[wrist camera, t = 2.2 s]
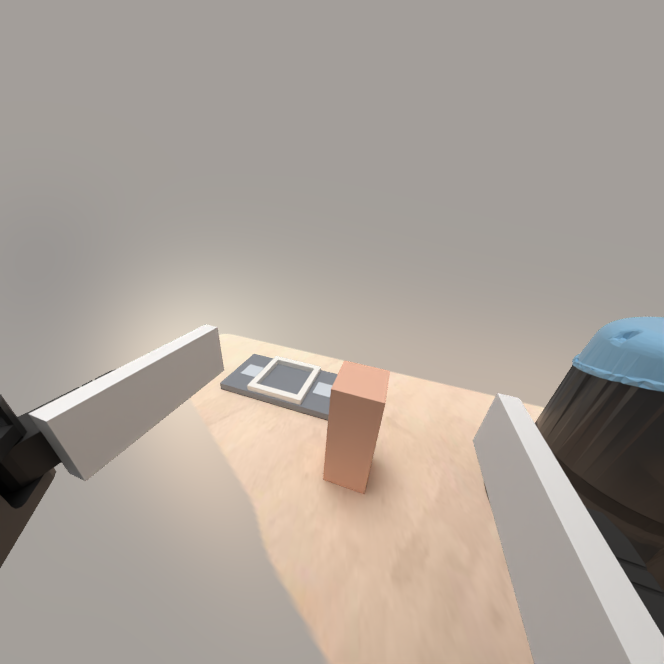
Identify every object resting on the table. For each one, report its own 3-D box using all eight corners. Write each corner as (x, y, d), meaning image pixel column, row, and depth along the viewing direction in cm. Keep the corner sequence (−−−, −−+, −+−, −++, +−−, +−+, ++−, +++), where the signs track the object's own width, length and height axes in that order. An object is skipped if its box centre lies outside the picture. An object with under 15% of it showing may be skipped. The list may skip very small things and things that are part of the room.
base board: (346, 381, 44) (348, 372, 43) (331, 421, 36) (332, 410, 35) (254, 358, 49) (253, 349, 48) (221, 388, 41) (219, 378, 40)
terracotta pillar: (370, 456, 31) (390, 371, 25) (364, 494, 27) (385, 403, 20) (334, 444, 32) (344, 360, 26) (323, 479, 28) (330, 388, 22)
